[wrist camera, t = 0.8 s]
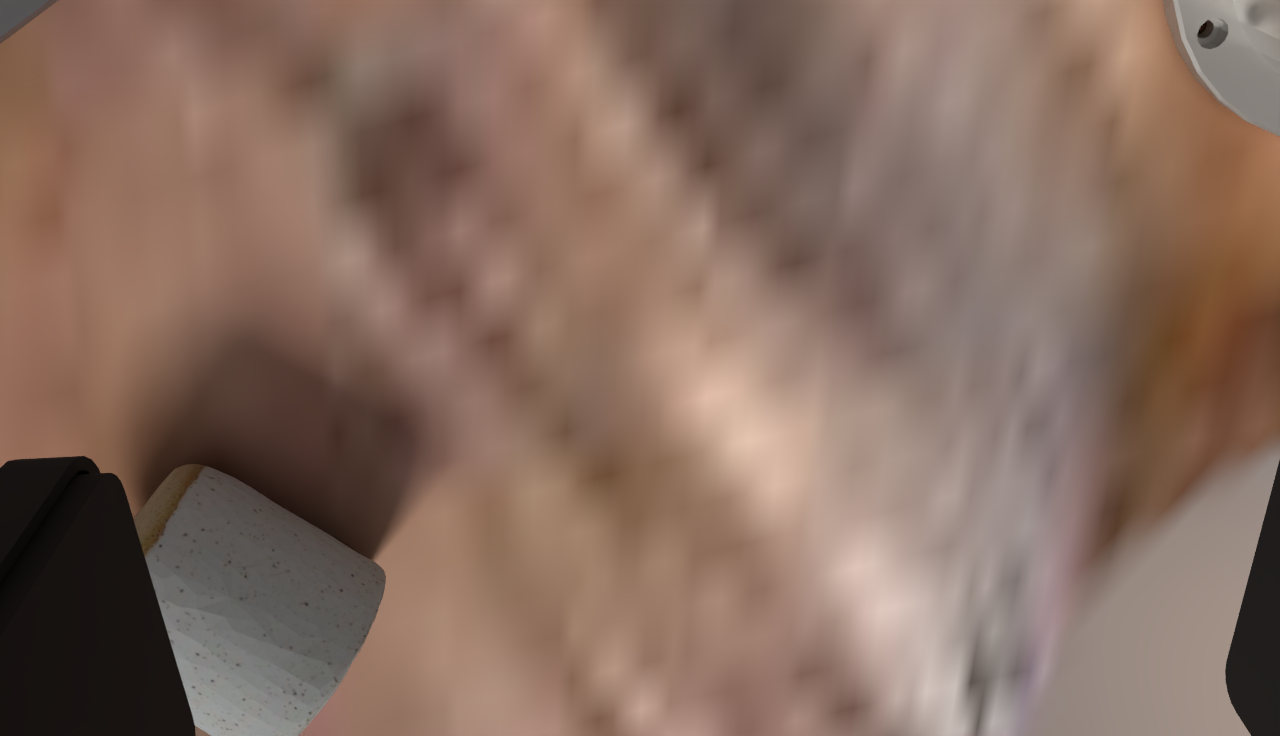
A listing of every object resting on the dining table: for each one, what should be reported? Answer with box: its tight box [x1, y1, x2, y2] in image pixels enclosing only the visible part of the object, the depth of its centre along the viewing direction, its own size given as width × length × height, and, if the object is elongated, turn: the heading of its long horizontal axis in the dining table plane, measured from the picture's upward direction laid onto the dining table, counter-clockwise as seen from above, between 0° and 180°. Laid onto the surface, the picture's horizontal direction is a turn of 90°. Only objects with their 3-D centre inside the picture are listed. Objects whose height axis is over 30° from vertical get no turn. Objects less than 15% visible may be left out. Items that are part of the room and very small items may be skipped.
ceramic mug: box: [133, 464, 386, 736], centre depth 41 cm, size 11×8×8 cm
